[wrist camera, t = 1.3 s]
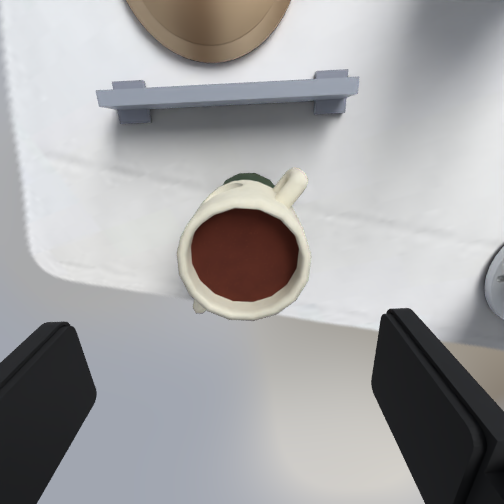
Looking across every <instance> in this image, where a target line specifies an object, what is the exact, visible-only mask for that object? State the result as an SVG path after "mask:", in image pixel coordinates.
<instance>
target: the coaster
mask: <svg viewBox="0 0 504 504" xmlns="http://www.w3.org/2000/svg"><path fill="white" fill-rule="evenodd" d="M126 1H127V2H128V4H129V6H130V8H131V9H132V11H133V13H134V14H135V16H136V17H137V18H138V20H139V21H140V23H141V24H142V25H143V26H144V27H145V28H146V30H147V31H148V32H149V33H150V34H151V35H152V36H153V37H154V38H155V39H156V40H158V41H159V42H160V43H161V44H162V45H163V46H165V47H166V48H168V49H169V50H171V51H172V52H174V53H176V54H178V55H180V56H182V57H184V58H187V59H190V60H193V61H198V62H204V63H219V62H227V61H230V60H233V59H237V58H239V57H241V56H243V55H246V54H248V53H249V52H251V51H252V50H254V49H255V48H257V47H258V46H259V45H260V44H261V43H262V42H264V41H265V40H266V39H267V38H268V37H269V35H270V34H271V33H272V32H273V31H274V30H275V28H276V27H277V25H278V24H279V22H280V21H281V19H282V18H283V16H284V14H285V12H286V10H287V8H288V6H289V3H290V1H291V0H126Z"/></svg>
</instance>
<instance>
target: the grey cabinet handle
mask: <svg viewBox="0 0 504 504" xmlns="http://www.w3.org/2000/svg"><path fill="white" fill-rule="evenodd" d="M112 85H113V90H96V95H97V99H98V104H99V107H104V108H110V109H117V110H118V115H119V120H120V124H131V123H151V116H150V110H149V109H164V108H184V107H204V106H223V105H243V104H263V103H283V102H303V101H314V114H333V113H345V109H346V98H347V97H350V96H353V95H355V94H358V86H359V77H348V69H345V70H326V71H316V72H315V79H306V80H287V81H267V82H248V83H229V84H210V85H191V86H171V87H152V88H146V86H145V81H143V80H137V81H118V82H112Z"/></svg>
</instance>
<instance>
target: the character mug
mask: <svg viewBox="0 0 504 504" xmlns="http://www.w3.org/2000/svg"><path fill="white" fill-rule="evenodd" d="M307 183H308V178H307V176H306V174H305V173H304V172H303V171H302V170H301V169H299V168H295V167H293V168H291V169H289V170H288V171H286V173H285V174H284V175H283V176H282V178H281V179H280V180H279V182H278V183H277V184H276V185H275V186H274V185H273V183H272V182H271V181H270V180H269V179H266V178H264V177H262V176H260V175H258V174H256V173H243V174H237V175H235V176H233V177H231V178H230V179H228V180H226V181H225V182H224V184H223V185H222V186H220V187H218V188H217V189H216V190H215V191H214V192H212V193H211V194H210V195H209V196H208V197H207V198H206V199H205V200H204V201H203V203H202V204H201V205H200V207H199V208H198V210H197V211H196V213H195V214H194V216H193V217H192V219H191V220H190V221H189V223H188V224H187V226H186V227H185V229H184V231H183V233H182V235H181V237H180V241H179V246H178V250H177V260H178V269H179V275H180V277H181V279H182V281H183V283H184V285H185V287H186V289H187V291H188V293H189V294H190V296H191V297H192V298H194V303H193V309H194V311H195V312H196V313H198V314H202V313H204V312H205V311H206V310H207V311H209V312H211V313H214V314H217V315H219V316H221V317H224V318H226V319H229V320H246V321H255V320H258V319H262V318H266V317H269V316H273V315H276V314H278V313H279V312H281V311H282V310H284V309H285V308H286V307H288V306H289V305H290V304H292V303H293V302H295V301H296V300H297V298H298V296H299V295H300V293H301V292H302V290H303V288H304V287H305V285H306V283H307V282H308V279H309V271H310V264H311V252H310V249H309V246H308V243H307V239H306V236H305V233H304V229H303V227H302V225H301V223H300V221H299V219H298V217H297V215H296V213H295V211H294V209H293V207H292V205H293V204H294V202H295V201H296V200H297V199H298V198H299V196H300V195H301V194H302V193H303V191H304V190H305V188H306V186H307Z"/></svg>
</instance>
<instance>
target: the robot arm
mask: <svg viewBox="0 0 504 504" xmlns="http://www.w3.org/2000/svg"><path fill="white" fill-rule="evenodd" d="M484 289H485V297H486V300H487V303H488V305H489V307H490V308H491V309H492V311H493V312H494V313H495V314H497V315H498V316H499V317H500V318H502V319H503V320H504V246H503V247H502V249H501V250H500V251H499V252H498V254H497V255H496V256H495V258H494V260H493V262H492V263H491V265H490V267H489V270H488V273H487V275H486V279H485V287H484ZM371 385H372V390H373V393H374V395H375V398H376V399H377V402H378V404H379V406H380V408H381V410H382V412H383V415H384V417H385V419H386V421H387V423H388V425H389V427H390V430H391V432H392V433H393V436H394V438H395V440H396V442H397V444H398V446H399V449H400V451H401V453H402V455H403V457H404V459H405V461H406V463H407V466H408V468H409V470H410V472H411V474H412V477H413V479H414V481H415V483H416V485H417V487H418V489H419V491H420V494H421V496H422V498H423V500H424V502H425V504H504V411H503V410H502V409H501V408H500V407H499V406H498V405H497V404H496V402H494V400H493V399H492V398H491V397H490V396H489V395H488V394H487V393H486V392H485V390H484V389H483V388H482V387H481V386H480V385H479V384H478V383H477V381H476V380H475V379H474V378H473V377H472V376H471V375H470V374H469V373H468V372H467V370H466V369H465V368H464V367H463V366H462V365H461V364H460V363H459V361H457V359H456V358H455V357H454V356H453V355H452V354H451V353H450V351H449V350H448V349H447V348H446V347H445V346H444V345H443V344H442V343H441V341H440V340H439V339H438V338H437V337H436V336H435V335H434V334H433V333H432V332H431V330H430V329H429V328H428V327H427V326H426V325H425V324H424V323H423V322H422V320H421V319H420V318H419V317H418V316H417V315H416V314H415V313H414V312H413V311H412V310H411V309H409V308H400V309H389V310H388V311H387V314H383V315H382V316H381V321H380V328H379V335H378V341H377V348H376V354H375V360H374V367H373V374H372V380H371ZM95 400H96V388H95V385H94V382H93V379H92V376H91V374H90V371H89V368H88V365H87V362H86V359H85V356H84V353H83V350H82V347H81V344H80V341H79V338H78V335H77V333H76V330H75V328H74V327H72V326H70V324H69V323H68V322H47V323H44V324H42V325H41V326H40V327H39V328H38V329H37V330H36V331H34V332H33V333H32V334H31V335H30V336H29V337H28V338H27V339H26V340H25V341H24V342H22V343H21V345H19V346H18V347H17V348H16V349H15V350H14V351H13V352H12V353H11V354H10V355H8V356H7V357H6V358H5V359H4V360H3V361H2V362H1V363H0V504H37V502H38V500H39V499H40V497H41V495H42V493H43V492H44V490H45V488H46V487H47V485H48V483H49V481H50V480H51V478H52V476H53V474H54V473H55V471H56V469H57V467H58V466H59V464H60V462H61V460H62V459H63V457H64V455H65V453H66V452H67V450H68V448H69V446H70V445H71V443H72V441H73V440H74V438H75V436H76V434H77V432H78V431H79V429H80V427H81V426H82V423H83V422H84V420H85V418H86V417H87V415H88V413H89V412H90V410H91V408H92V407H93V405H94V403H95Z"/></svg>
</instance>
